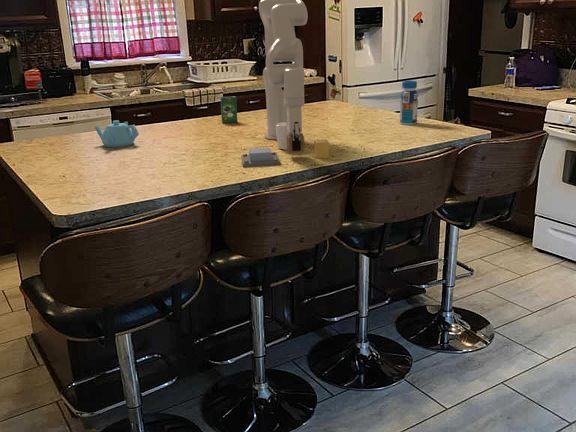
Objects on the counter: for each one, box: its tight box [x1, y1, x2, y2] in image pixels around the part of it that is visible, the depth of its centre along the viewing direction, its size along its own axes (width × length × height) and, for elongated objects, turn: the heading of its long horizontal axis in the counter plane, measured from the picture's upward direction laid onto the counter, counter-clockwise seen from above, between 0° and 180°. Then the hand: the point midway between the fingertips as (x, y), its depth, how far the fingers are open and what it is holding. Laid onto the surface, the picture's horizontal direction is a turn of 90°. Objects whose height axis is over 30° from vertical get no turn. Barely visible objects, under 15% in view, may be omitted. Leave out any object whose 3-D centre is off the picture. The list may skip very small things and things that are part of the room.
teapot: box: [94, 120, 139, 149], centre depth 267 cm, size 15×15×11 cm
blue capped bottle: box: [399, 79, 419, 126], centre depth 288 cm, size 8×8×20 cm
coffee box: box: [220, 95, 238, 124], centre depth 309 cm, size 8×3×13 cm, turn 103°
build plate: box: [240, 147, 281, 168], centre depth 231 cm, size 14×14×4 cm
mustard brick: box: [313, 139, 330, 159], centre depth 234 cm, size 5×5×6 cm
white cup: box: [276, 122, 290, 151], centre depth 250 cm, size 8×8×10 cm
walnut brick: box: [287, 132, 305, 154], centre depth 233 cm, size 6×6×6 cm
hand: (295, 147), depth 234 cm, fingers closed on walnut brick, 6 cm apart
